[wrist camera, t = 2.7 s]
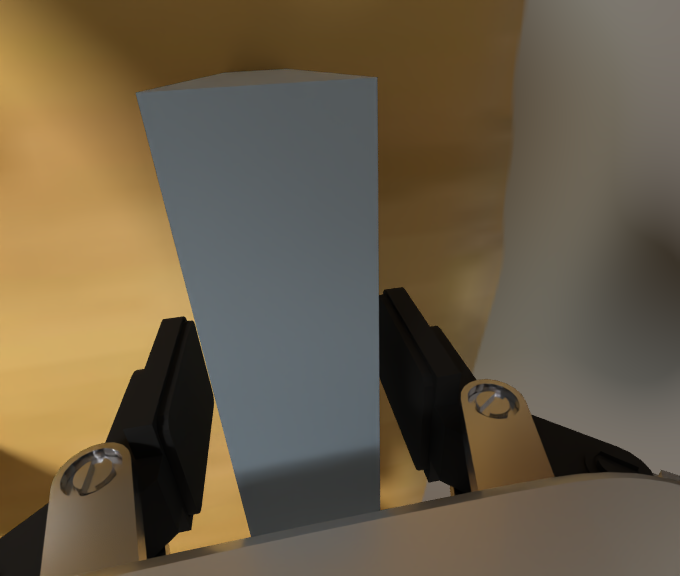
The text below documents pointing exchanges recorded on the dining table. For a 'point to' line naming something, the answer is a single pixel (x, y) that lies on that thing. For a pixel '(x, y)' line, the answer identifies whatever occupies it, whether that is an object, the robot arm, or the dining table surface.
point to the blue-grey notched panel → (281, 277)
